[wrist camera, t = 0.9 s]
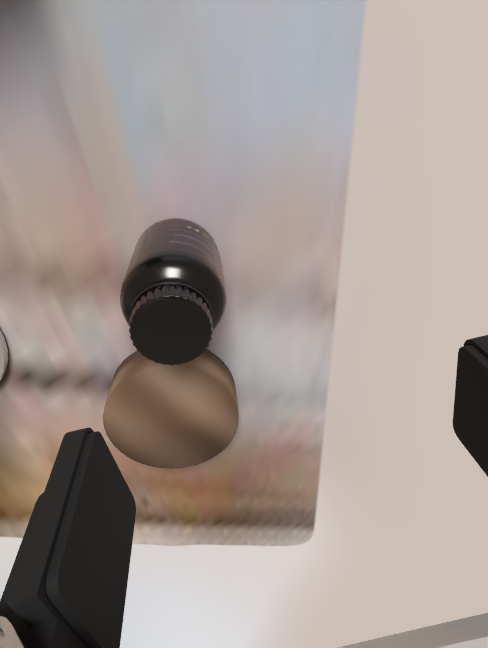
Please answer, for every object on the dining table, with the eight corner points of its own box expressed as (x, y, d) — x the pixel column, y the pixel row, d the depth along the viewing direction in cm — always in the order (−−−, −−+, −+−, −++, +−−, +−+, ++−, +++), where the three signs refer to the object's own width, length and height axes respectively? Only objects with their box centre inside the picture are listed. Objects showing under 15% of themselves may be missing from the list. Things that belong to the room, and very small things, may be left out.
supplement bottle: (196, 307, 37) (195, 396, 27) (122, 273, 35) (89, 355, 24) (235, 240, 34) (251, 310, 24) (157, 199, 32) (137, 257, 22)
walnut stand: (164, 454, 45) (161, 485, 42) (84, 384, 40) (73, 413, 36) (258, 401, 43) (263, 430, 39) (186, 319, 37) (184, 343, 34)
